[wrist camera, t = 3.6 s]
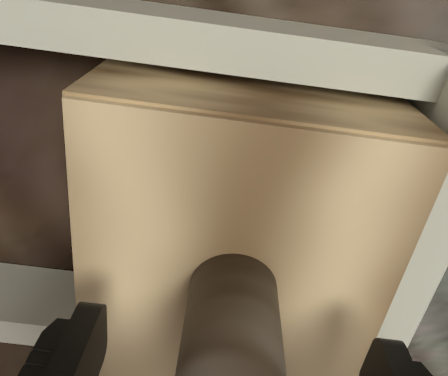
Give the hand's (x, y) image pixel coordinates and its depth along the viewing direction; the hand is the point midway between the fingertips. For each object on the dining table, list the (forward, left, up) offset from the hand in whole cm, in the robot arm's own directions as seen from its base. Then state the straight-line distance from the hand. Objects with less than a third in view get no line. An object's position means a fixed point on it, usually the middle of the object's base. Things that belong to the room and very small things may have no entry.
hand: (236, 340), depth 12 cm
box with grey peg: (0, 0, -9) cm, 9 cm away
